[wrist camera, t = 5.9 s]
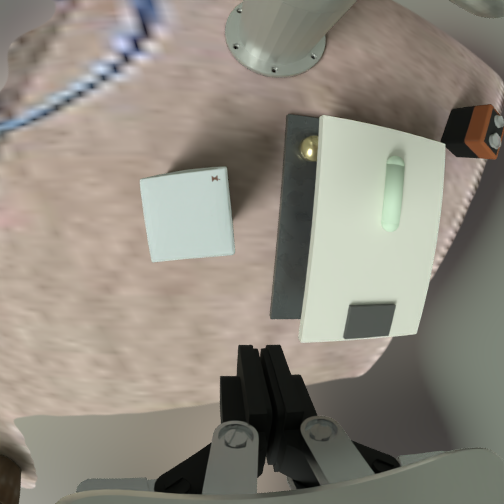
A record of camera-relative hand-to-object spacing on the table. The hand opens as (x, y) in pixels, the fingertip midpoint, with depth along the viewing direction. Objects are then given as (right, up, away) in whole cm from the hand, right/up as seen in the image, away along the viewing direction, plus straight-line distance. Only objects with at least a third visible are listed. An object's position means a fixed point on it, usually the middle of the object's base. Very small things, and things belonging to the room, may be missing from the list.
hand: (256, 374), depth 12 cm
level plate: (+14, +7, +22) cm, 27 cm away
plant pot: (-67, -53, +36) cm, 93 cm away
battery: (+31, +23, +26) cm, 46 cm away
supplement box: (-7, +11, +25) cm, 28 cm away
